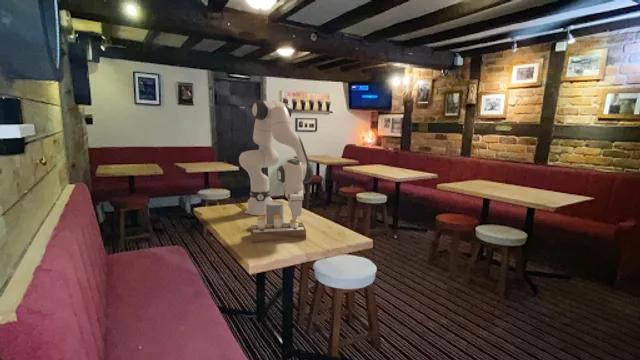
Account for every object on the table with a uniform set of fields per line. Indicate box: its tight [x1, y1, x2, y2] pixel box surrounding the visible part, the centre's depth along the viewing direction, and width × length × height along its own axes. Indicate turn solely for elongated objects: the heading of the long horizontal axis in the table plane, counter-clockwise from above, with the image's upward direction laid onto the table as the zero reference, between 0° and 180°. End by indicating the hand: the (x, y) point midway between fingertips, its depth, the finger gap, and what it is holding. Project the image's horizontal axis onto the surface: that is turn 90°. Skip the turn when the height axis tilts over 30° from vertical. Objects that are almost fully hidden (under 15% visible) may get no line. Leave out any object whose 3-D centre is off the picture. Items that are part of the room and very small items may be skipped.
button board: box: [250, 222, 307, 244], centre depth 165 cm, size 12×26×5 cm, turn 102°
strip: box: [253, 227, 304, 233], centre depth 160 cm, size 3×24×1 cm, turn 102°
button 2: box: [289, 218, 299, 228], centre depth 166 cm, size 4×4×8 cm
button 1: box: [256, 215, 266, 230], centre depth 163 cm, size 4×4×8 cm
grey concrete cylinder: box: [265, 200, 284, 224], centre depth 184 cm, size 10×10×12 cm
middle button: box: [274, 215, 282, 229], centre depth 164 cm, size 4×4×8 cm
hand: (294, 220), depth 166 cm, fingers closed, pressing on button 2
